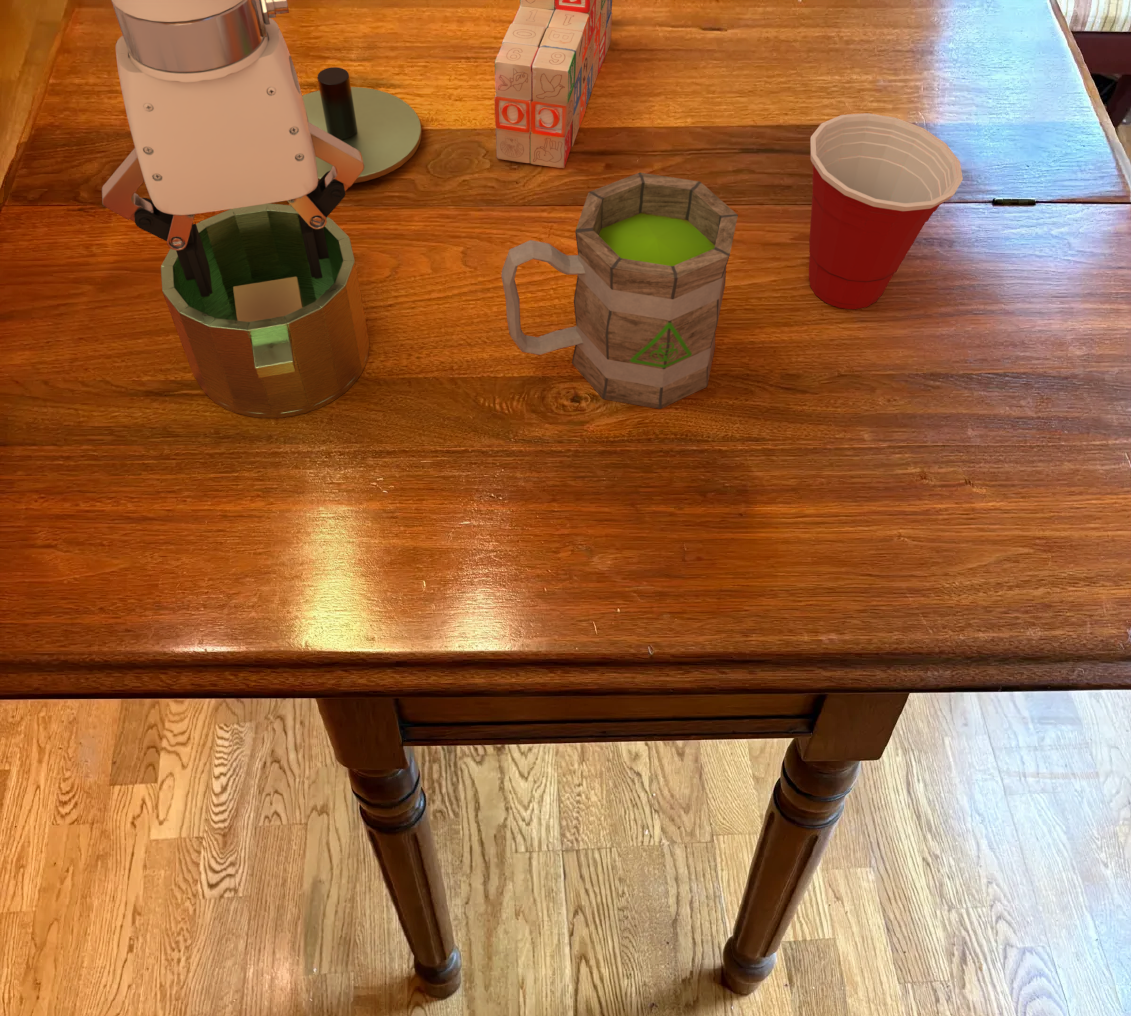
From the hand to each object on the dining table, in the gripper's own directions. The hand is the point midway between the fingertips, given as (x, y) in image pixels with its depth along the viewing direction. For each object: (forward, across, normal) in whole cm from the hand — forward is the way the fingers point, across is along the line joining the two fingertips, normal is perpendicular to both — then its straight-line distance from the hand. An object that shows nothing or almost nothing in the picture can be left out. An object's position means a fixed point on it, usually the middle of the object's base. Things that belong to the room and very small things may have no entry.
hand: (260, 272), depth 73 cm
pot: (+8, 0, 0) cm, 8 cm away
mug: (+8, -23, +6) cm, 25 cm away
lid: (+7, -8, -25) cm, 27 cm away
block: (+7, 0, 0) cm, 7 cm away
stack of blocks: (+8, -28, -27) cm, 40 cm away
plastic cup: (+8, -44, +3) cm, 44 cm away
